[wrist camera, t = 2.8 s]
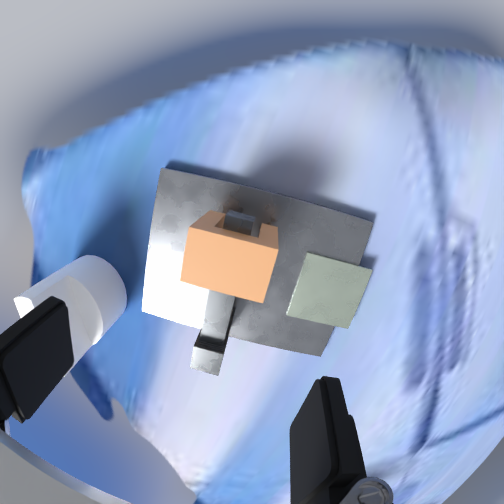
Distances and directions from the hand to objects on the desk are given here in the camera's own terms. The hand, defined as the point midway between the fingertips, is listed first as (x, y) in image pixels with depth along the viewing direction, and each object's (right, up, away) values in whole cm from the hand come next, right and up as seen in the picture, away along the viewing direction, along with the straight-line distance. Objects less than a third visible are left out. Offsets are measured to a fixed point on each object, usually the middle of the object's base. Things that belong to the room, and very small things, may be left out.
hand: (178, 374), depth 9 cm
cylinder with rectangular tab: (-17, 0, +23) cm, 28 cm away
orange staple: (+1, +5, +16) cm, 17 cm away
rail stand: (+3, +2, +20) cm, 21 cm away
